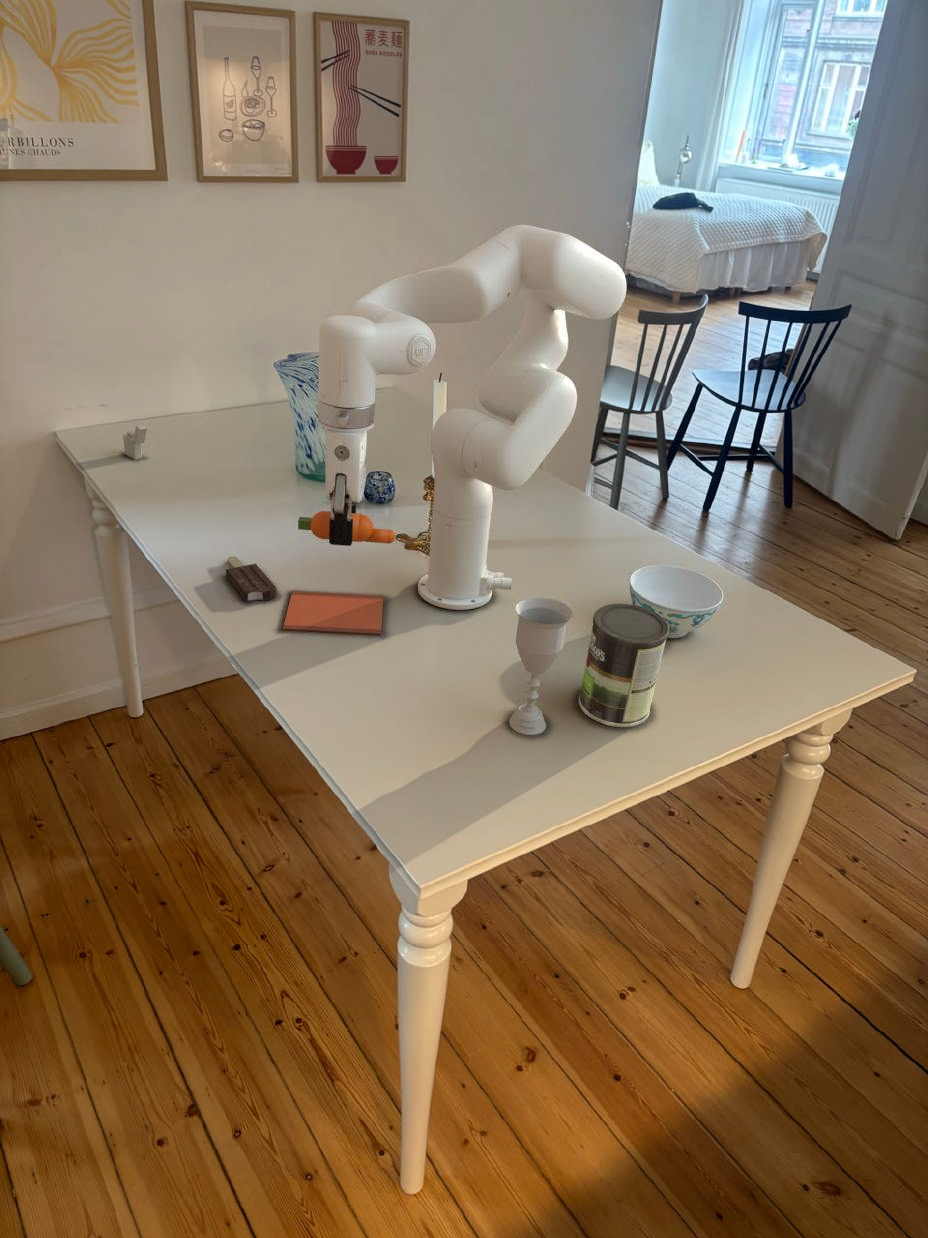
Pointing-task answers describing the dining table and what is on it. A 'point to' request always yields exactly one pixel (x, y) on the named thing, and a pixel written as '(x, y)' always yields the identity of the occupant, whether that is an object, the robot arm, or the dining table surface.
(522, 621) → the chalice
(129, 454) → the white jagged block
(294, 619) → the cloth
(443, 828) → the dining table surface
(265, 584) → the ice cream bar
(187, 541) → the dining table surface
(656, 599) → the chinaware
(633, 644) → the coffee can
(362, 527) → the carrot
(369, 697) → the dining table surface
